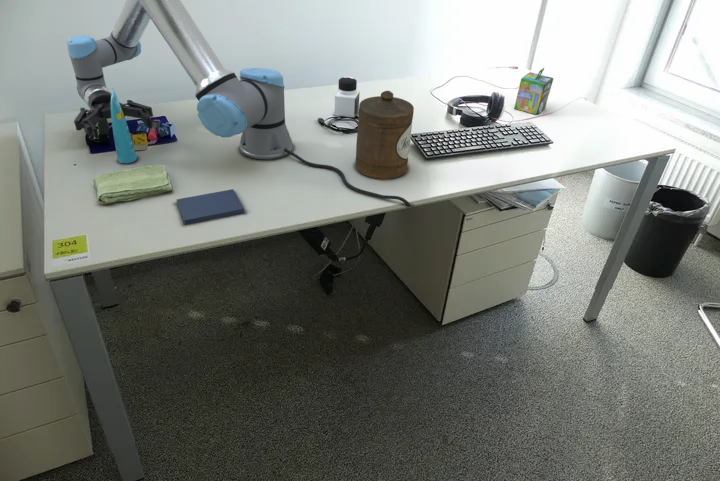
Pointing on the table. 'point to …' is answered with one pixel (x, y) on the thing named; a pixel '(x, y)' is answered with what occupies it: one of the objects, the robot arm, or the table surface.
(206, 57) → the robot arm
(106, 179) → the washcloth
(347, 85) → the medicine bottle
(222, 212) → the notebook
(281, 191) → the table surface
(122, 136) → the tube
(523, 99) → the chalk box
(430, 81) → the table surface
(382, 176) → the wooden container
